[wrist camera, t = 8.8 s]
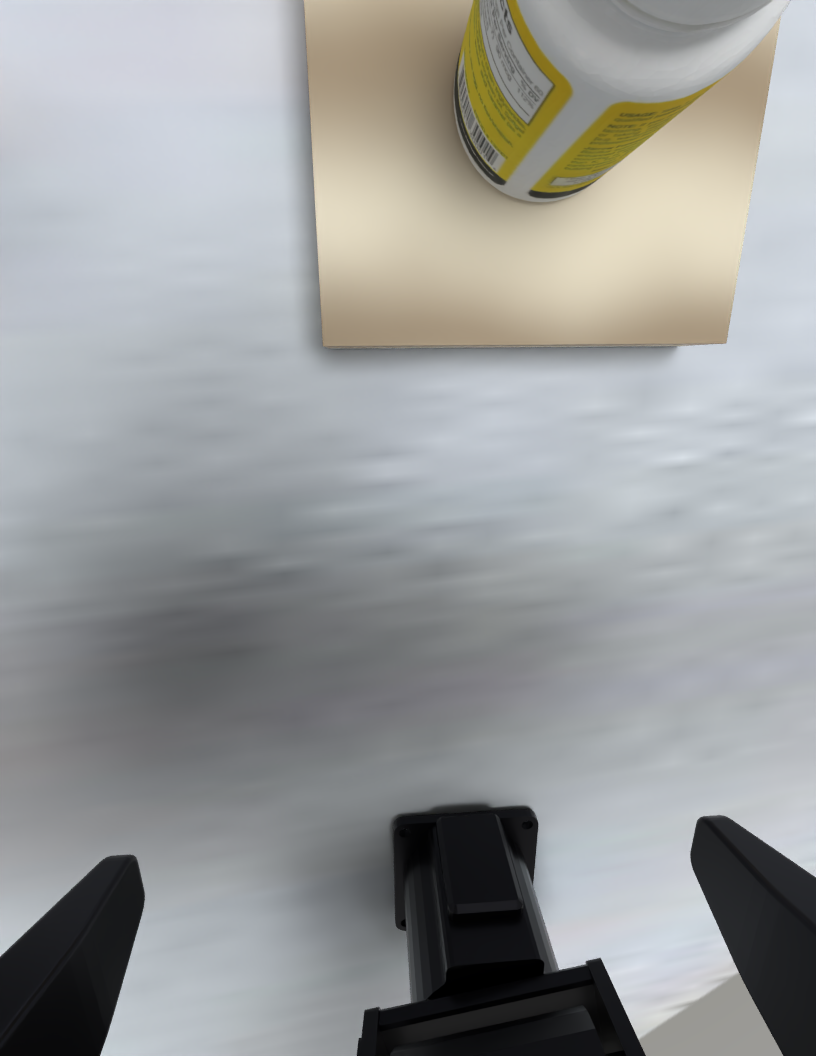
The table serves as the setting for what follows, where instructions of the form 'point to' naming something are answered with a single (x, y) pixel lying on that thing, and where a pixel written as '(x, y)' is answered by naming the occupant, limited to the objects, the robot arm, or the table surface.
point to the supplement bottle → (588, 81)
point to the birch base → (511, 204)
